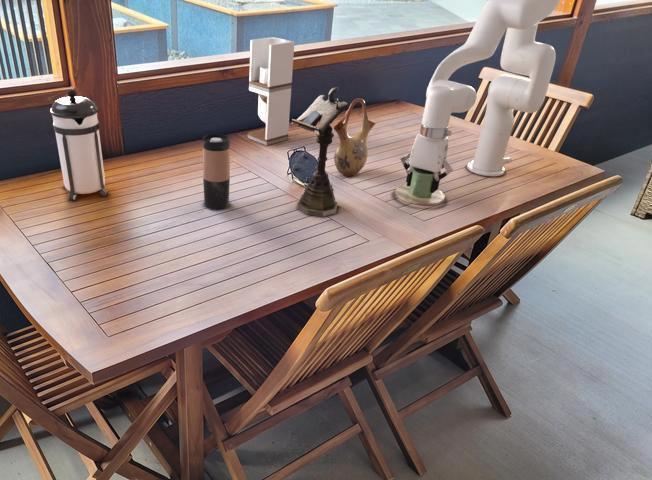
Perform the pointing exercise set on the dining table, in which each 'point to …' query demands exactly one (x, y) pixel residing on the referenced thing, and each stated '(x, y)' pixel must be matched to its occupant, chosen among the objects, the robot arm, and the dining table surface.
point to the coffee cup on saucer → (420, 189)
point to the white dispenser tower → (271, 86)
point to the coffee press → (79, 145)
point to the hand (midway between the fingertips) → (421, 187)
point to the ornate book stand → (320, 154)
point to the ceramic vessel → (352, 143)
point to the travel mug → (216, 170)
